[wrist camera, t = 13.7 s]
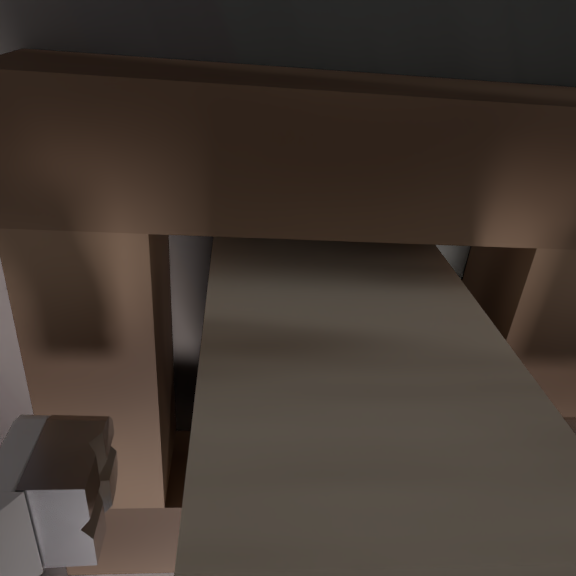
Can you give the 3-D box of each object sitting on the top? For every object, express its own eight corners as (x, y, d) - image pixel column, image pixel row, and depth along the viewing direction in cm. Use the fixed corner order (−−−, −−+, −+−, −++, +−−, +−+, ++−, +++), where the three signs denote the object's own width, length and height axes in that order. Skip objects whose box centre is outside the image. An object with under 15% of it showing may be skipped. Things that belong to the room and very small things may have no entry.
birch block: (393, 402, 15) (526, 769, 8) (212, 401, 14) (184, 791, 7) (430, 239, 12) (669, 562, 5) (214, 230, 12) (173, 574, 5)
